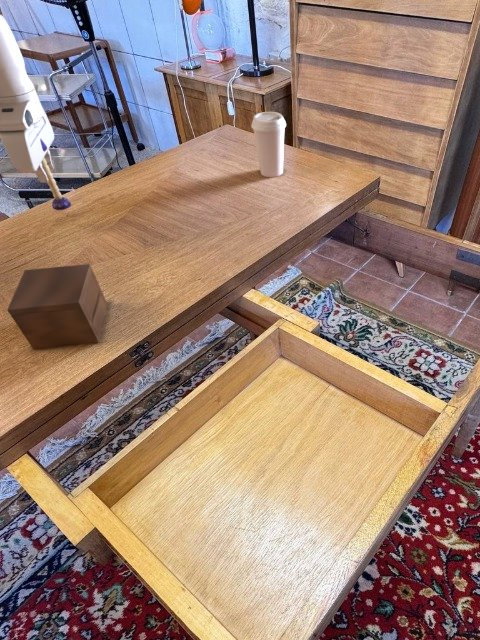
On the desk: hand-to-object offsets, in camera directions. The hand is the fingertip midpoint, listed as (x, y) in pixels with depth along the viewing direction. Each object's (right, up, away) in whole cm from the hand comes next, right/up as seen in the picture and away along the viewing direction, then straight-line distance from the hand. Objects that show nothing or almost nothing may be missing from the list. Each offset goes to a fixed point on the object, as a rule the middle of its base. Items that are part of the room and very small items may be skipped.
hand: (47, 176), depth 101 cm
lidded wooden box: (+13, -37, -14) cm, 42 cm away
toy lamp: (0, -5, +6) cm, 7 cm away
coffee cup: (+50, +15, +29) cm, 60 cm away
